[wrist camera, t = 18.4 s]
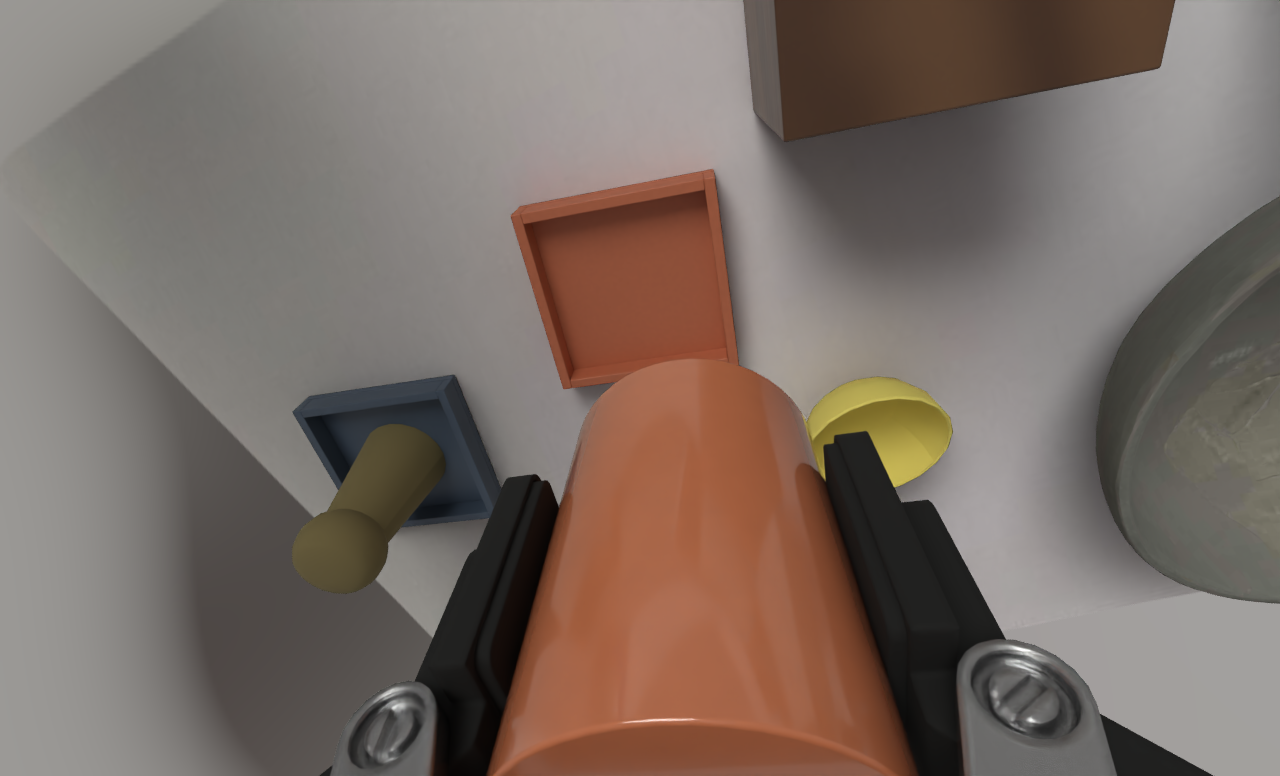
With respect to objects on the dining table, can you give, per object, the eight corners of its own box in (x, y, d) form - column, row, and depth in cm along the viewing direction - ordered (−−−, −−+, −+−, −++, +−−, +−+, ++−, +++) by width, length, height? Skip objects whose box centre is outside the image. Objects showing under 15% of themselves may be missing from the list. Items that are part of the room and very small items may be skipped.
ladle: (923, 330, 35) (967, 396, 30) (921, 555, 52) (949, 618, 47) (776, 368, 36) (799, 436, 32) (821, 575, 53) (840, 637, 49)
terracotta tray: (568, 373, 39) (563, 389, 37) (519, 206, 33) (509, 215, 32) (736, 349, 37) (739, 365, 35) (713, 168, 32) (714, 176, 30)
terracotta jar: (607, 554, 14) (550, 935, 8) (548, 378, 12) (403, 737, 6) (819, 532, 13) (930, 938, 7) (803, 338, 11) (951, 707, 5)
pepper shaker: (369, 482, 44) (283, 601, 35) (360, 417, 41) (262, 528, 32) (447, 494, 44) (382, 616, 35) (444, 430, 41) (371, 545, 32)
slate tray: (374, 512, 47) (362, 531, 45) (309, 395, 41) (291, 411, 39) (505, 498, 45) (497, 517, 43) (454, 374, 39) (443, 390, 38)
